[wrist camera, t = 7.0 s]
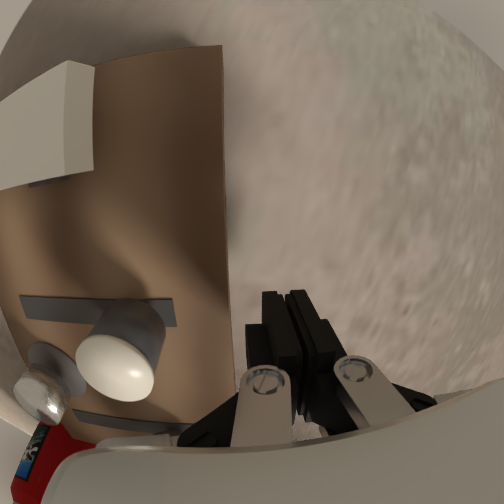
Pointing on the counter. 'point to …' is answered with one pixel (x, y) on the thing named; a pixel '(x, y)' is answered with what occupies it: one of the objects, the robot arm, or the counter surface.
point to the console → (131, 244)
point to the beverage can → (43, 461)
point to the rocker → (48, 126)
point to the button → (42, 394)
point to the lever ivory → (123, 350)
